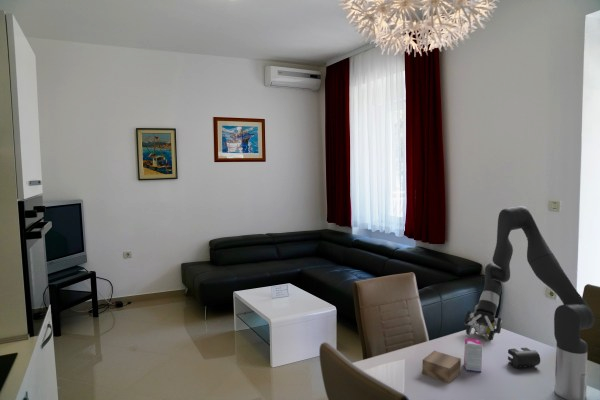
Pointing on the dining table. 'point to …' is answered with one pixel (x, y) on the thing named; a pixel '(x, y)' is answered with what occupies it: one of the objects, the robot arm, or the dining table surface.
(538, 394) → the dining table surface
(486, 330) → the alarm clock
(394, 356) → the dining table surface
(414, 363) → the dining table surface
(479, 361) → the supplement box
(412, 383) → the dining table surface
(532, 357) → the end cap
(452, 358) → the walnut block
